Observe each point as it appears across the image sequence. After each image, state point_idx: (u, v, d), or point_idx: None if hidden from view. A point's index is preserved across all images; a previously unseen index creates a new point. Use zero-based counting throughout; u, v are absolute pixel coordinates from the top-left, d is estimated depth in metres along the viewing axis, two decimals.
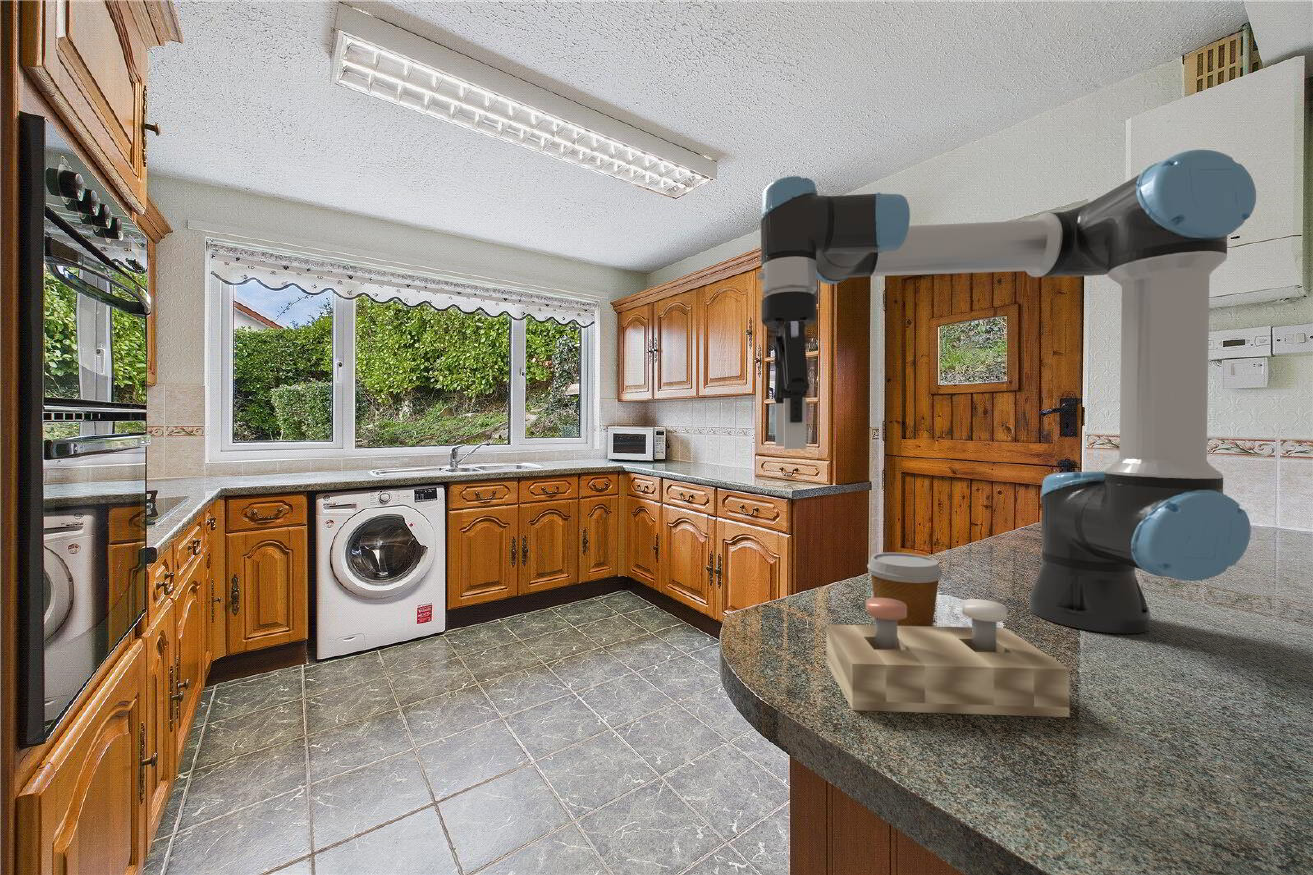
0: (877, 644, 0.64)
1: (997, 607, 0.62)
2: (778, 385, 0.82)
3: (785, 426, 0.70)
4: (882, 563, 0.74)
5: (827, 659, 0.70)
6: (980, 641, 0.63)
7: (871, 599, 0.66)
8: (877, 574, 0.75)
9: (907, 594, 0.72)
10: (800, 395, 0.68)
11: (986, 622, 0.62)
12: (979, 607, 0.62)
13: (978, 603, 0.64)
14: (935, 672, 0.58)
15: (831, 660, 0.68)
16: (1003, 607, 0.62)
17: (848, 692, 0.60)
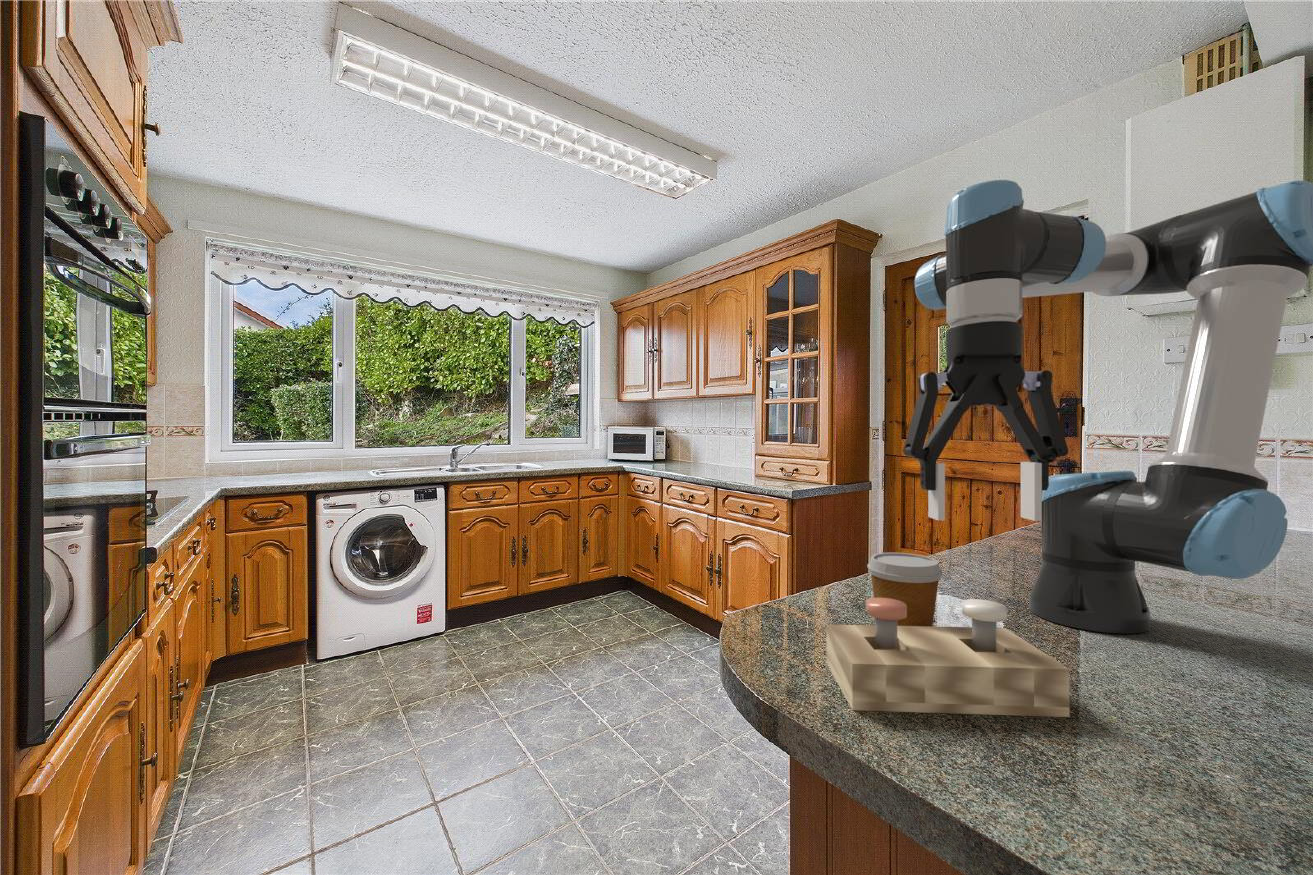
0: (877, 644, 0.64)
1: (997, 607, 0.62)
2: (1016, 436, 0.64)
3: (928, 492, 0.65)
4: (882, 563, 0.74)
5: (827, 659, 0.70)
6: (980, 641, 0.63)
7: (871, 599, 0.66)
8: (877, 574, 0.75)
9: (907, 594, 0.72)
10: (922, 461, 0.63)
11: (986, 622, 0.62)
12: (979, 607, 0.62)
13: (978, 603, 0.64)
14: (935, 672, 0.58)
15: (831, 660, 0.68)
16: (1003, 607, 0.62)
17: (848, 692, 0.60)
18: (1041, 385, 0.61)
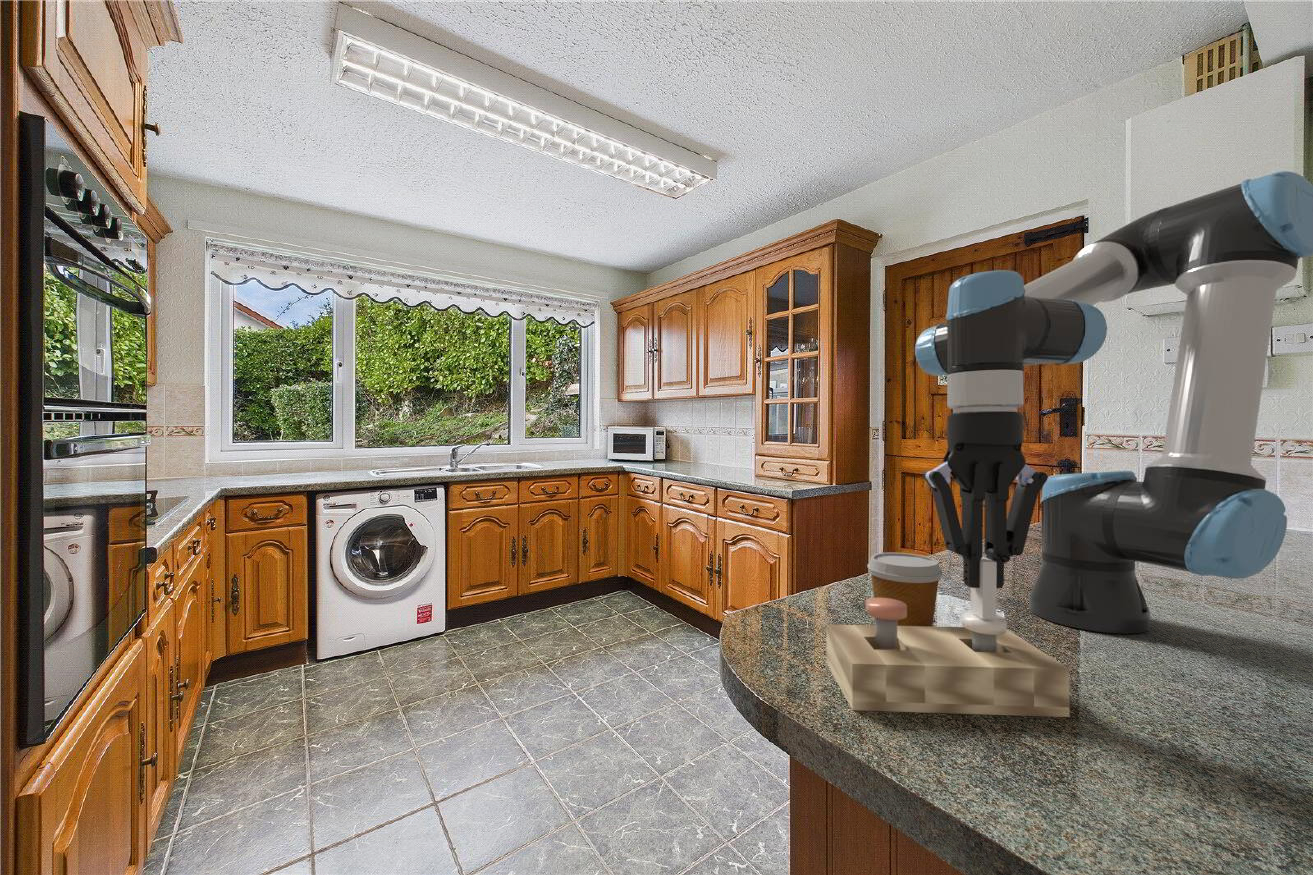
0: (877, 644, 0.64)
1: (997, 620, 0.62)
2: (985, 526, 0.64)
3: None
4: (882, 563, 0.74)
5: (827, 659, 0.70)
6: None
7: (871, 599, 0.66)
8: (877, 574, 0.75)
9: (907, 594, 0.72)
10: (966, 558, 0.63)
11: (986, 635, 0.62)
12: (979, 620, 0.62)
13: None
14: (935, 672, 0.58)
15: (831, 660, 0.68)
16: (1003, 620, 0.62)
17: (848, 692, 0.60)
18: (1032, 483, 0.62)
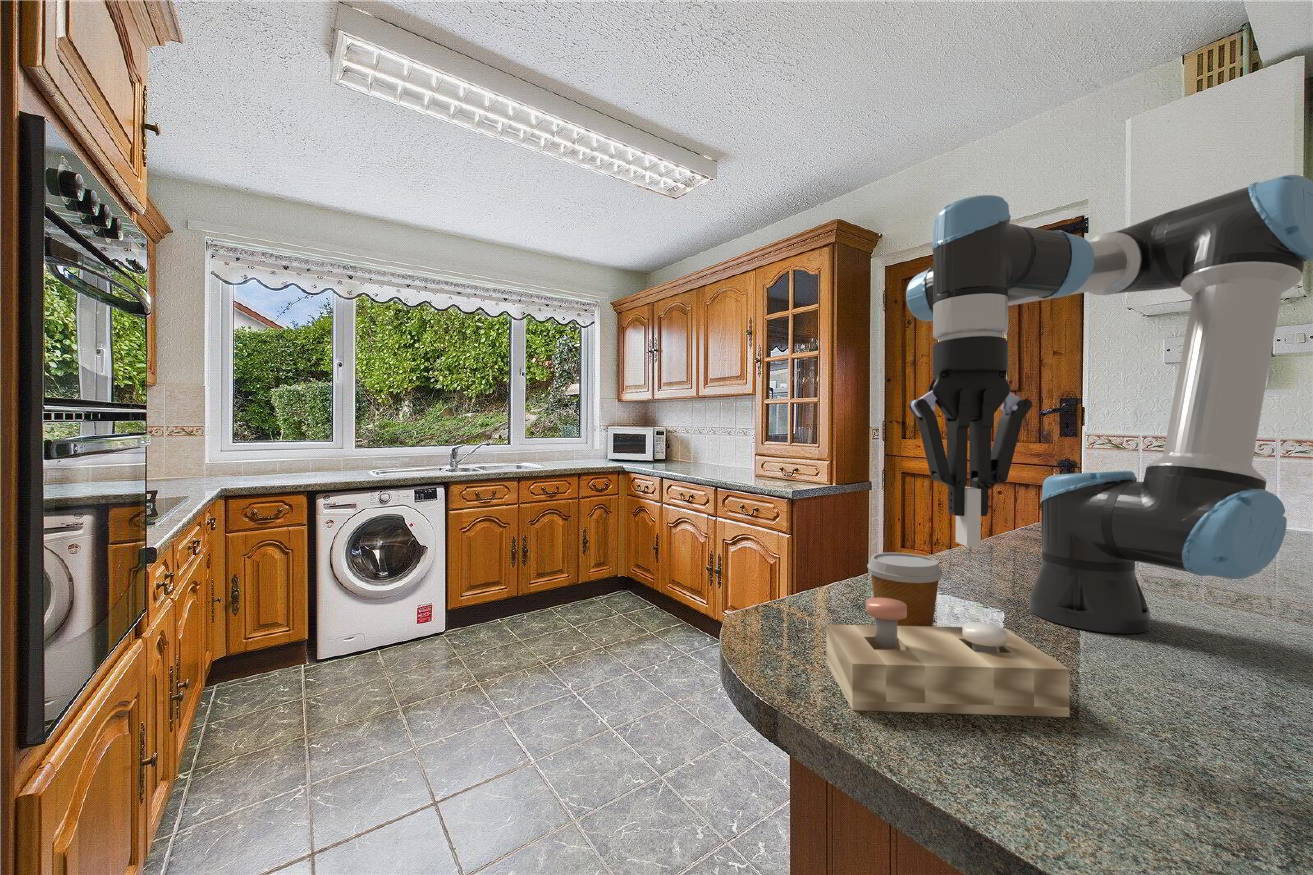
0: (877, 644, 0.64)
1: (997, 631, 0.62)
2: (970, 455, 0.64)
3: (956, 517, 0.64)
4: (882, 563, 0.74)
5: (827, 659, 0.70)
6: None
7: (871, 599, 0.66)
8: (877, 574, 0.75)
9: (907, 594, 0.72)
10: (951, 486, 0.63)
11: (986, 646, 0.62)
12: (979, 631, 0.62)
13: (978, 626, 0.64)
14: (935, 672, 0.58)
15: (831, 660, 0.68)
16: (1003, 631, 0.62)
17: (848, 692, 0.60)
18: (1017, 410, 0.62)
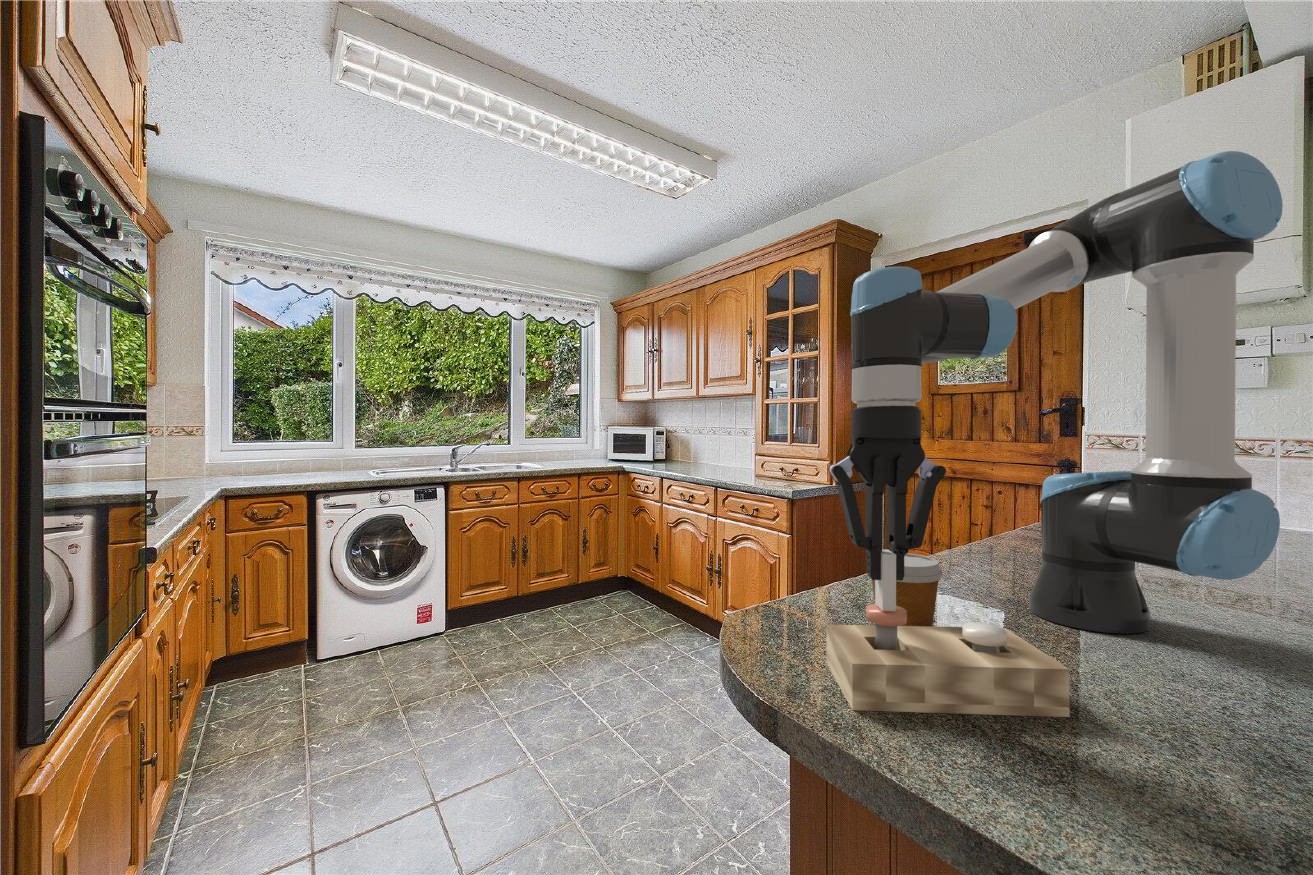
0: None
1: (997, 631, 0.62)
2: (888, 519, 0.65)
3: (875, 579, 0.65)
4: None
5: (827, 659, 0.70)
6: None
7: (871, 605, 0.66)
8: None
9: (907, 594, 0.72)
10: (868, 550, 0.64)
11: (986, 646, 0.62)
12: (979, 631, 0.62)
13: (978, 626, 0.64)
14: (935, 672, 0.58)
15: (831, 660, 0.68)
16: (1003, 631, 0.62)
17: (848, 692, 0.60)
18: (931, 477, 0.62)
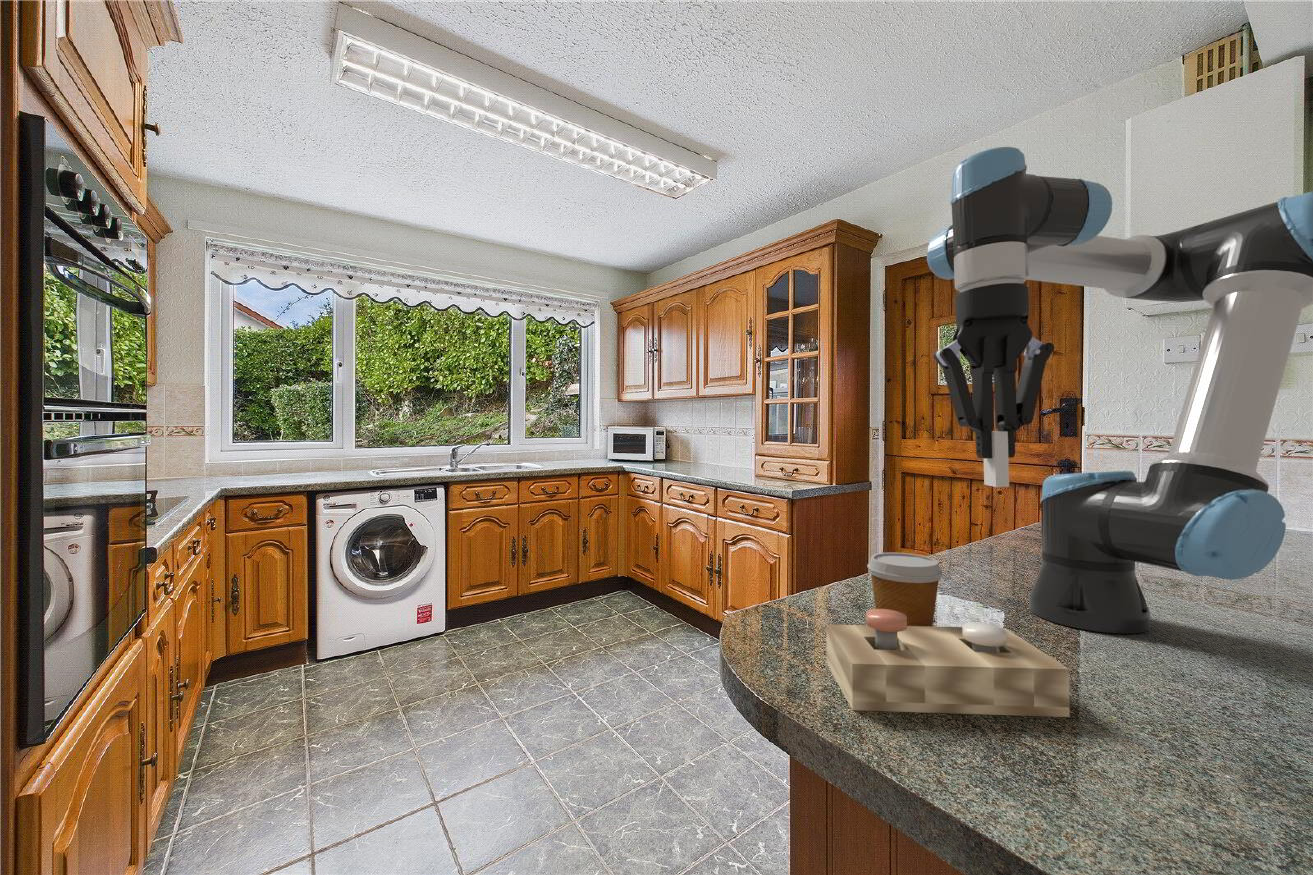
0: None
1: (997, 631, 0.62)
2: (995, 401, 0.67)
3: (984, 461, 0.67)
4: (882, 563, 0.74)
5: (827, 659, 0.70)
6: None
7: (871, 610, 0.66)
8: (877, 574, 0.75)
9: (907, 594, 0.72)
10: (978, 430, 0.65)
11: (986, 646, 0.62)
12: (979, 631, 0.62)
13: (978, 626, 0.64)
14: (935, 672, 0.58)
15: (831, 660, 0.68)
16: (1003, 631, 0.62)
17: (848, 692, 0.60)
18: (1039, 354, 0.64)
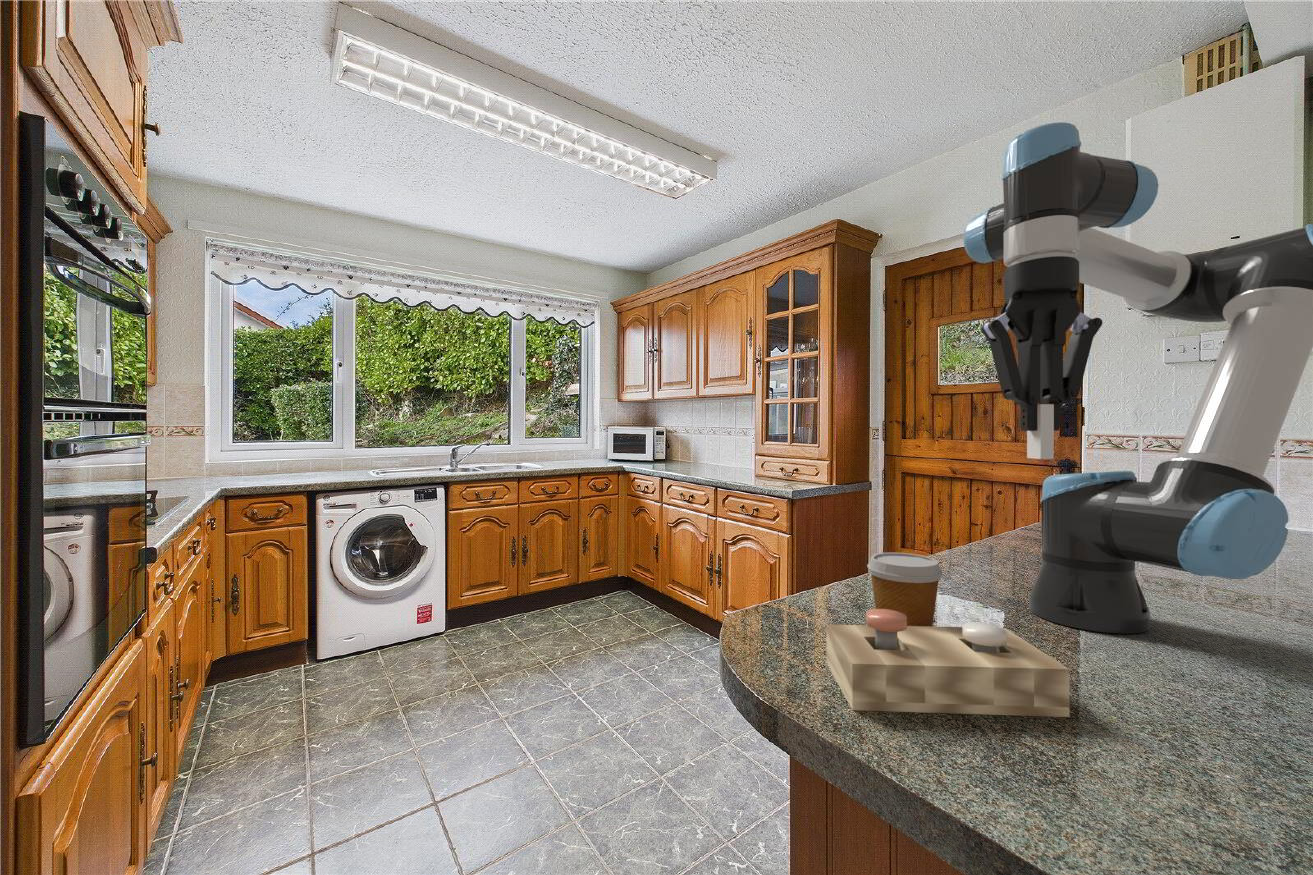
0: None
1: (997, 631, 0.62)
2: (1041, 375, 0.67)
3: (1027, 434, 0.68)
4: (882, 563, 0.74)
5: (827, 659, 0.70)
6: None
7: (871, 610, 0.66)
8: (877, 574, 0.75)
9: (907, 594, 0.72)
10: (1024, 403, 0.66)
11: (986, 646, 0.62)
12: (979, 631, 0.62)
13: (978, 626, 0.64)
14: (935, 672, 0.58)
15: (831, 660, 0.68)
16: (1003, 631, 0.62)
17: (848, 692, 0.60)
18: (1087, 328, 0.65)
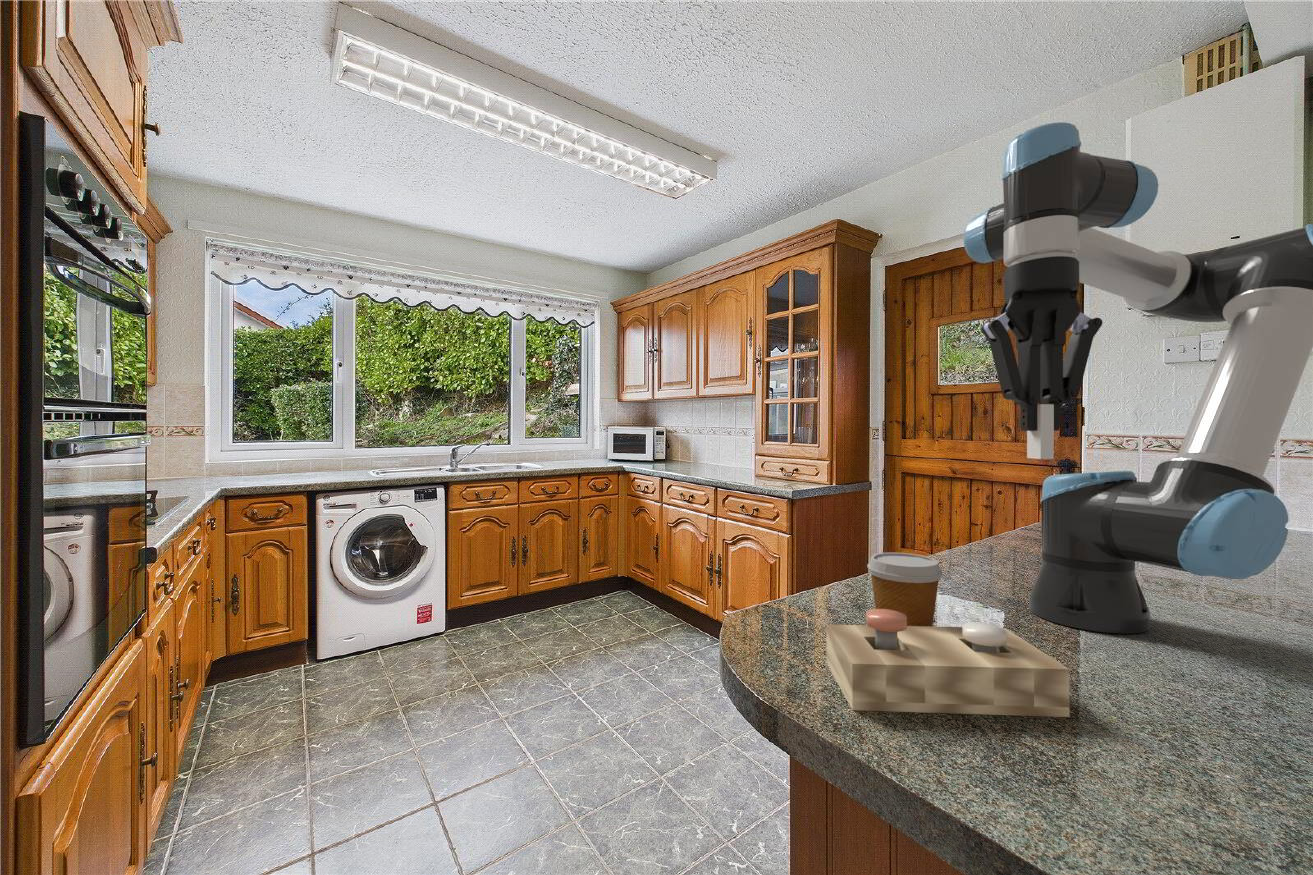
0: None
1: (997, 631, 0.62)
2: (1041, 375, 0.67)
3: (1027, 434, 0.68)
4: (882, 563, 0.74)
5: (827, 659, 0.70)
6: None
7: (871, 610, 0.66)
8: (877, 574, 0.75)
9: (907, 594, 0.72)
10: (1024, 403, 0.66)
11: (986, 646, 0.62)
12: (979, 631, 0.62)
13: (978, 626, 0.64)
14: (935, 672, 0.58)
15: (831, 660, 0.68)
16: (1003, 631, 0.62)
17: (848, 692, 0.60)
18: (1087, 328, 0.65)
